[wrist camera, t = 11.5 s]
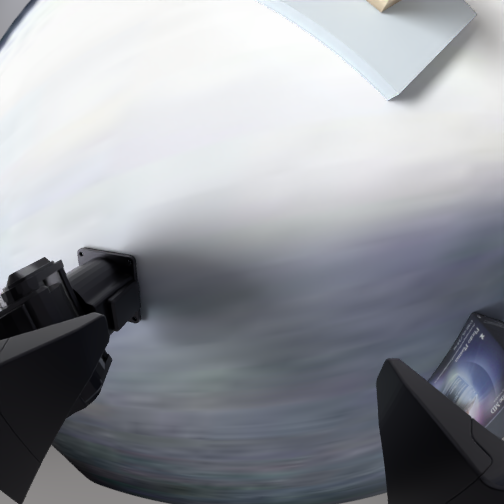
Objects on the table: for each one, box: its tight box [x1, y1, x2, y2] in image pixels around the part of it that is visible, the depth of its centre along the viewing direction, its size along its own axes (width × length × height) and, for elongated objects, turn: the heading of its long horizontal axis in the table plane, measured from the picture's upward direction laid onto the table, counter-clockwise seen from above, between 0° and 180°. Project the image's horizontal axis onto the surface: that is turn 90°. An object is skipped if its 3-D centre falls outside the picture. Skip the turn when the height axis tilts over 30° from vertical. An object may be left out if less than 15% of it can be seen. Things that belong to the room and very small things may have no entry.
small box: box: [428, 313, 504, 439], centre depth 16 cm, size 11×6×10 cm, turn 165°
